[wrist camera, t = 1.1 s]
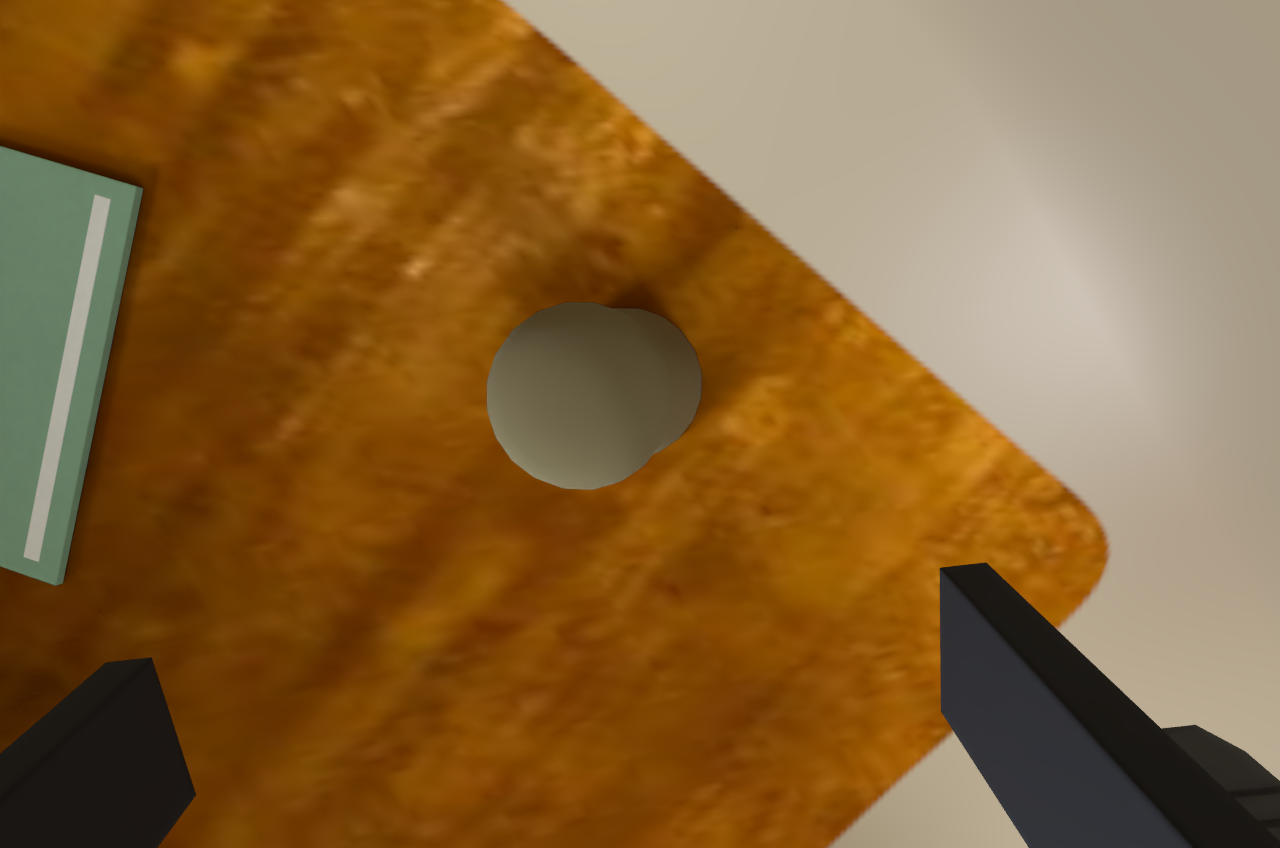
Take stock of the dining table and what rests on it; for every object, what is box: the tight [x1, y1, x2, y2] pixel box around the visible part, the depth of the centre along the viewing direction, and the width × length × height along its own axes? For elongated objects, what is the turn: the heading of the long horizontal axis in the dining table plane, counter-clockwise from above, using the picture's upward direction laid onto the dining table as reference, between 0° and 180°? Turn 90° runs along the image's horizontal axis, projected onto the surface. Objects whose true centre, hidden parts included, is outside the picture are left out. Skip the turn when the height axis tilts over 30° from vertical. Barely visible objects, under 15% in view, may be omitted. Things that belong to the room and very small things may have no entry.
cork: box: [487, 302, 702, 490], centre depth 25 cm, size 6×6×11 cm
